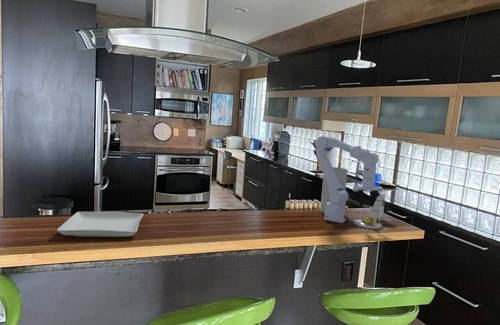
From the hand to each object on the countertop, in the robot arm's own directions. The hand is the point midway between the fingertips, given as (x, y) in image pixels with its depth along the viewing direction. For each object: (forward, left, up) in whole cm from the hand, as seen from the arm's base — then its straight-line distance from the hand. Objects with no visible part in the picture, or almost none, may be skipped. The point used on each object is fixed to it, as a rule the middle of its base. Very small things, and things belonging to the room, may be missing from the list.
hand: (366, 206), depth 168 cm
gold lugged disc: (+1, +4, -9) cm, 10 cm away
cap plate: (+1, +5, -10) cm, 12 cm away
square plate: (-84, -81, -11) cm, 117 cm away
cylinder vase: (-22, +19, -11) cm, 31 cm away
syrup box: (+2, +23, -11) cm, 26 cm away
